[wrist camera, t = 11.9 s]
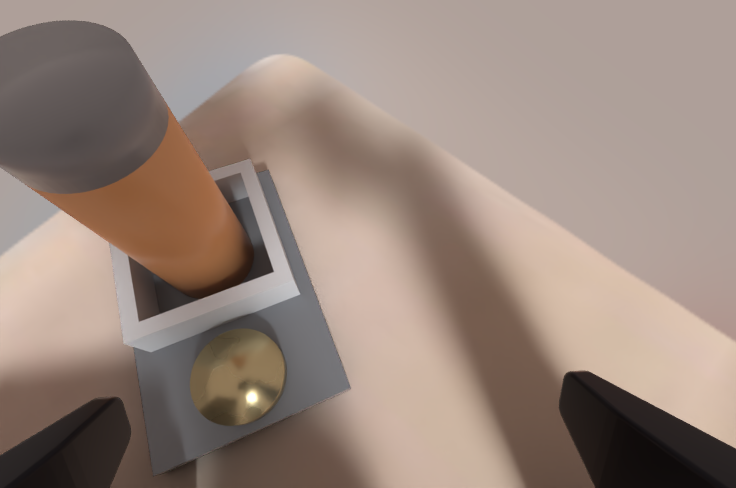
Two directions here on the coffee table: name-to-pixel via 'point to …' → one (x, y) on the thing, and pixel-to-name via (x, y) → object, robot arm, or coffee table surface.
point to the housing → (228, 337)
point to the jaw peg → (115, 154)
